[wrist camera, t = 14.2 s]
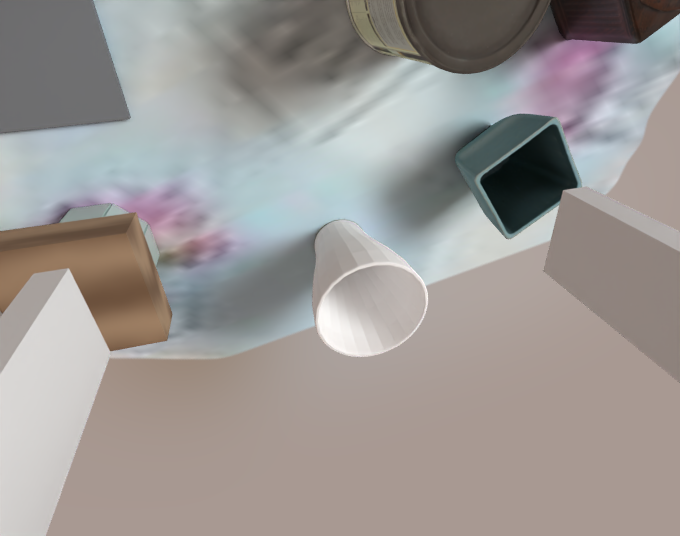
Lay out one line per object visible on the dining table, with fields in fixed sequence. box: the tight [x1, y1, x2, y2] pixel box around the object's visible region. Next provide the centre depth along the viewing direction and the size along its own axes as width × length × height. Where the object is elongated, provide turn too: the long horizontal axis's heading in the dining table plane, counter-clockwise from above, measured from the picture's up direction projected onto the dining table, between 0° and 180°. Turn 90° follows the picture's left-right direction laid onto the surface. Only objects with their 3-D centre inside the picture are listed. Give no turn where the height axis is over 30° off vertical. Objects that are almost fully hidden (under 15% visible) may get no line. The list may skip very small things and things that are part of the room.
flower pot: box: [455, 114, 582, 239], centre depth 42 cm, size 9×9×9 cm
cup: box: [312, 220, 428, 357], centre depth 42 cm, size 10×10×14 cm
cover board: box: [0, 212, 172, 351], centre depth 35 cm, size 11×11×4 cm
